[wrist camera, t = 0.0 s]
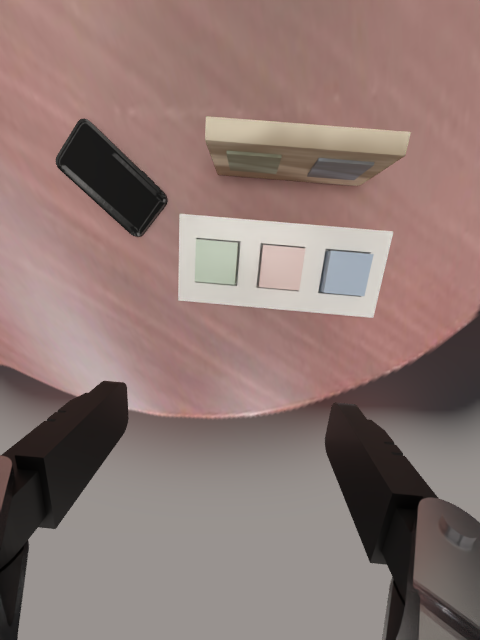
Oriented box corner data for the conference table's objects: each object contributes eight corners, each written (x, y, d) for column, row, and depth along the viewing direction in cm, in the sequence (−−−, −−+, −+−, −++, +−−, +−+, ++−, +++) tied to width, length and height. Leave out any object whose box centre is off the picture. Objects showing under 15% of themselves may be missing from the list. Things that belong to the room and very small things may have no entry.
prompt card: (218, 158, 33) (205, 116, 23) (362, 170, 32) (410, 132, 23) (217, 177, 33) (204, 143, 24) (358, 188, 33) (404, 159, 23)
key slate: (324, 251, 33) (331, 250, 31) (363, 254, 33) (373, 254, 31) (318, 290, 35) (323, 292, 32) (355, 293, 35) (364, 296, 32)
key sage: (200, 240, 34) (196, 239, 31) (238, 244, 34) (237, 242, 31) (198, 279, 35) (194, 281, 33) (235, 282, 35) (234, 284, 32)
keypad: (185, 217, 35) (179, 213, 32) (381, 233, 34) (393, 231, 31) (183, 297, 38) (178, 300, 35) (363, 313, 37) (373, 317, 34)
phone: (136, 239, 35) (52, 162, 33) (140, 240, 36) (58, 166, 34) (169, 197, 33) (82, 113, 31) (171, 199, 35) (88, 118, 32)
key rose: (262, 246, 34) (263, 244, 31) (301, 249, 34) (305, 248, 31) (258, 284, 35) (258, 286, 32) (295, 288, 35) (299, 290, 32)
